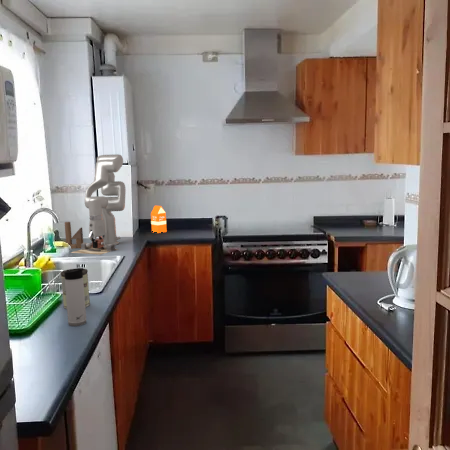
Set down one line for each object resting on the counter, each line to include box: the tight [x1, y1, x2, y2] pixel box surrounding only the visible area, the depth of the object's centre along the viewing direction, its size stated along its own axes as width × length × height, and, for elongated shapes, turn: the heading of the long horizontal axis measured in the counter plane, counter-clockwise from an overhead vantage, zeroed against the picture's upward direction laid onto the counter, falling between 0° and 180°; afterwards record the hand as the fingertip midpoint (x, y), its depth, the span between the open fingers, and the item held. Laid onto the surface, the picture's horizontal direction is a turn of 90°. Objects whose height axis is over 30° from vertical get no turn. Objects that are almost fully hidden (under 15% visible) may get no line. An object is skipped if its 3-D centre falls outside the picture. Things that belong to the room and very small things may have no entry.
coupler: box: [92, 237, 104, 248], centre depth 321 cm, size 5×8×5 cm, turn 64°
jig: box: [70, 242, 119, 256], centre depth 319 cm, size 18×23×5 cm
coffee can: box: [59, 268, 91, 310], centre depth 206 cm, size 10×10×14 cm
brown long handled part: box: [64, 221, 84, 250], centre depth 330 cm, size 4×11×18 cm, turn 87°
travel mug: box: [64, 267, 87, 327], centre depth 184 cm, size 6×7×20 cm
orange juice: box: [150, 205, 168, 234], centre depth 393 cm, size 8×9×20 cm
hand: (98, 246), depth 322 cm, fingers closed on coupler, 5 cm apart
